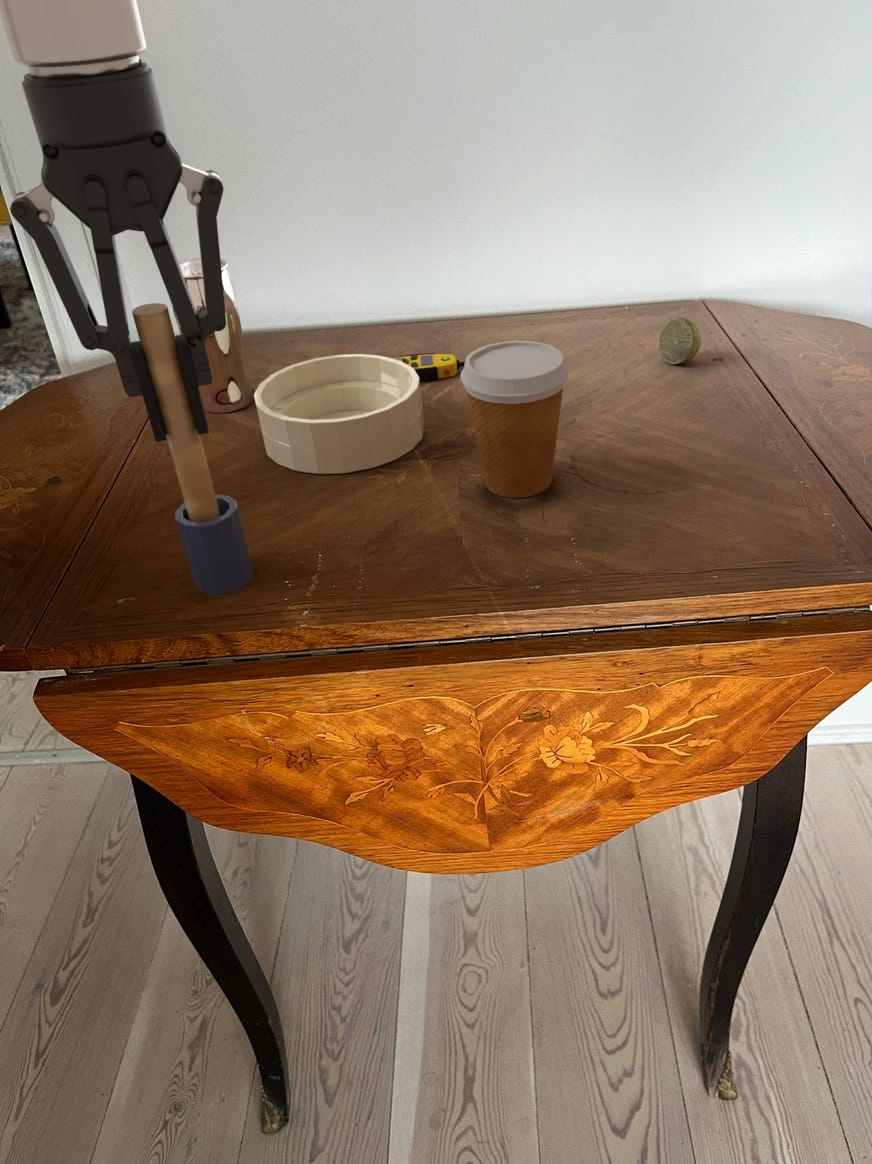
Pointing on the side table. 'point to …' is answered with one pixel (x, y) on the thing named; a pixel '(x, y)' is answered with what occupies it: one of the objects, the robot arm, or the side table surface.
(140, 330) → the stick
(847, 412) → the side table surface
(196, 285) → the beer glass
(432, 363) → the yellow handheld meter
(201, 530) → the holder
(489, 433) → the disposable coffee cup
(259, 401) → the bowl
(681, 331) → the lime
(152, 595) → the side table surface
